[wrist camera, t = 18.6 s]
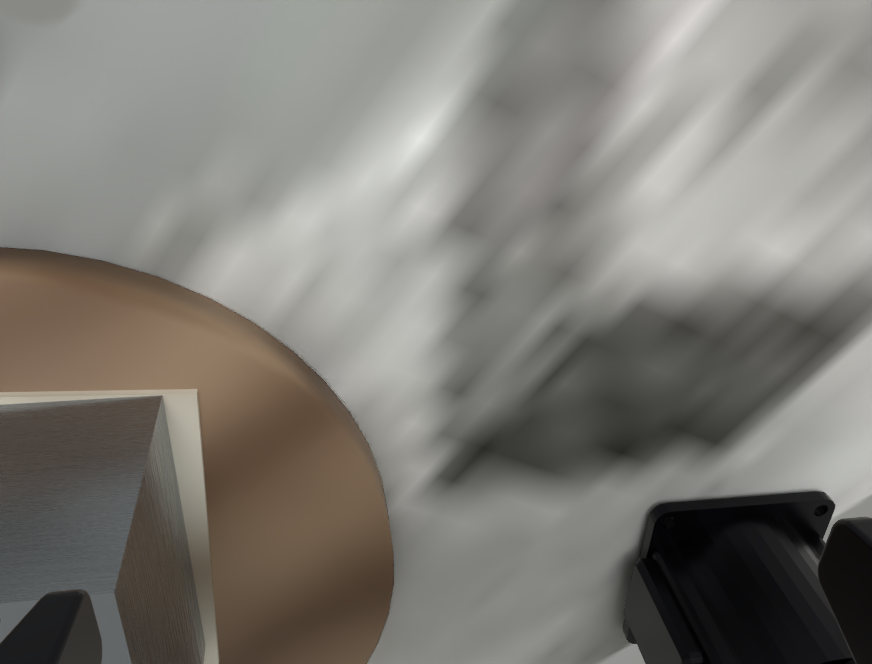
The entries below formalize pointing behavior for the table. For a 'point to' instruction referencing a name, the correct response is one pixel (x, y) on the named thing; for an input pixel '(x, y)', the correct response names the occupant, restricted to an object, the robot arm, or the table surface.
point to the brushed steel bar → (98, 524)
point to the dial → (220, 451)
